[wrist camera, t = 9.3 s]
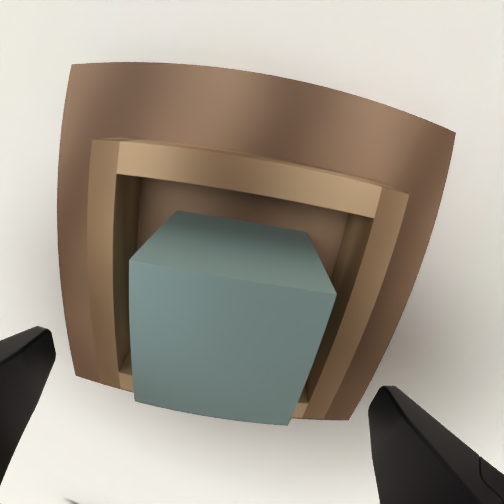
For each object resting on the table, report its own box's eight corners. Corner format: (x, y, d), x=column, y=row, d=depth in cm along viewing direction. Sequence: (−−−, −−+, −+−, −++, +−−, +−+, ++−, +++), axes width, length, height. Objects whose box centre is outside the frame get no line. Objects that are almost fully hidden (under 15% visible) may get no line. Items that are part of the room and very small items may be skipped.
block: (306, 232, 12) (337, 294, 7) (279, 338, 14) (287, 425, 9) (176, 209, 12) (129, 259, 7) (168, 320, 14) (134, 401, 9)
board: (443, 132, 11) (492, 136, 8) (345, 408, 17) (357, 453, 14) (83, 68, 11) (37, 55, 7) (82, 364, 16) (58, 404, 13)
